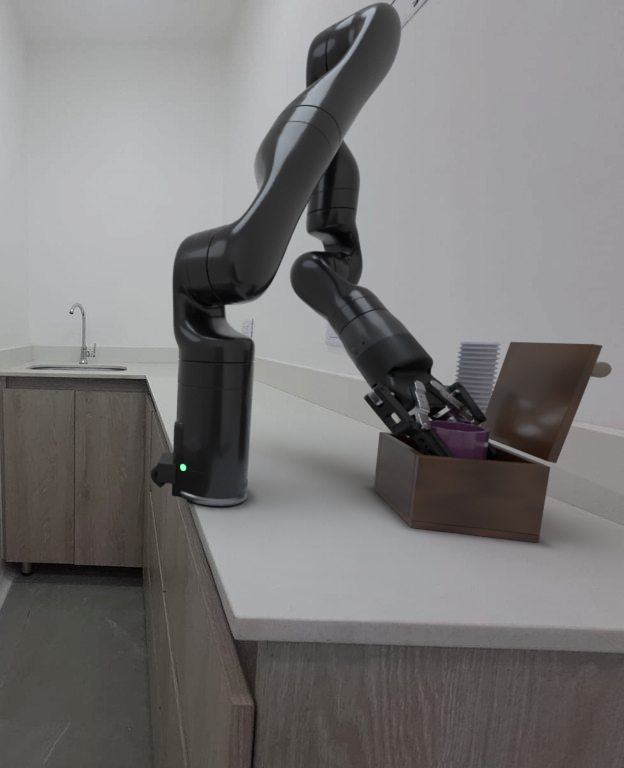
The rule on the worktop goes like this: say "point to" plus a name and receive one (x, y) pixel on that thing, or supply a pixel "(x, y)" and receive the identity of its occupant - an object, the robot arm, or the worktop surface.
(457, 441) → the cup
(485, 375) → the screw
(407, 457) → the chest
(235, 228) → the robot arm
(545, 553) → the worktop surface
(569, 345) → the lid
